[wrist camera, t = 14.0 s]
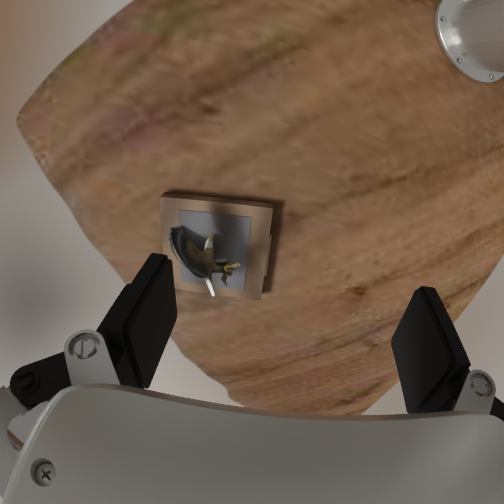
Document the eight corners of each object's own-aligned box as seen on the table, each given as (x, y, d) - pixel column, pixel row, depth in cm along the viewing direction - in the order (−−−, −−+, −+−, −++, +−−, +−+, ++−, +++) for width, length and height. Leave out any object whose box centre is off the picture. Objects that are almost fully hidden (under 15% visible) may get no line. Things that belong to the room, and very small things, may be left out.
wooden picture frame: (275, 204, 38) (275, 209, 36) (263, 293, 45) (262, 300, 43) (164, 192, 38) (159, 197, 37) (168, 281, 45) (165, 287, 44)
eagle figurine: (248, 234, 37) (177, 208, 34) (237, 290, 34) (159, 265, 31) (226, 254, 44) (166, 233, 41) (216, 302, 41) (151, 282, 38)
